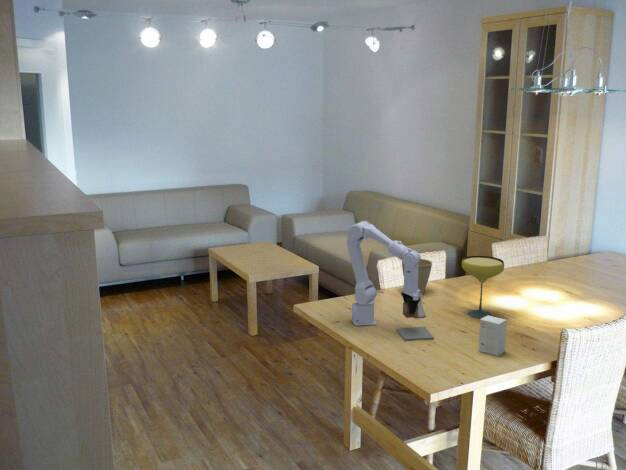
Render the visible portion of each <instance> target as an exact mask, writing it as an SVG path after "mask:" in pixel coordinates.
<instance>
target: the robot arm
mask: <svg viewBox="0 0 626 470" xmlns="http://www.w3.org/2000/svg"><path fill="white" fill-rule="evenodd" d="M364 239H373V240H375V241H376V242H378V243H380V244H381V245H383V246H384V247H386V248H387V250H388V253H390V254H392V256H394V257H396V258H397V259H399V260H400V261H401V264H402V263H403V264H404V276H403V286H402V287H403V288H402V292H401V293H400V295H401V297H402V299H403V302H408V307H409V313H410V314H415V312H416V308H417V305H418V303H419V301H420V298H418V292H420V290H419V289H418V264H417V263H418V262H419V261H420V259H422V258H421V254H420V252H418V251H417V250H416V249H412V248H410V247H407V246H406V245H404V244H403V242H402V241H401V240H392V239H390V238H389V237H388V236H387V235H385V234H384V233H383V232H381V230H380V229H378V228H377V227H376V226H375V225H374V224H372V223H370V222H369V221H368V220H362V221H359V222H357V223H353V224H352V225H350V227H349V228H348V229H347V239H346V247H347V250H348V255H349V258H350V262H351V266H352V269H353V274H354V277H355V282H356V283H355V287H354V292H355V293H354V300H355V301H356V302H354V303H352V304H351V319H350V320H351V321H352V323H353V326H356V327H357V326H358V327H359V326H373V325H374V326H376V325H377V322H376V320H375V298H376V297H377V296H378V293H377V288H376V287H375V286H374V284H373V281H372V280H370V279H369V274H368V271H367V268H366V263H365V260H364V259H365V258H364V255H363V250H362V247H361V243H362V242H363V240H364Z"/></svg>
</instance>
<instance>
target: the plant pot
mask: <svg viewBox="0 0 626 470" xmlns="http://www.w3.org/2000/svg"><path fill="white" fill-rule="evenodd" d="M417 264H418V289H419V290H420V292H418V293H420V294H422V295H423V294H424V292H425V290H426V287H427V286H428V282H429V279H430V275H431V271H432V267H433V262H432V261H431V260H429V259H426V258H425V259H424V258H421V259H420V261H419V262H418V263H417ZM401 268H402V275H403V277H404V264H403V263H402V262H401Z"/></svg>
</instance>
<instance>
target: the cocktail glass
mask: <svg viewBox="0 0 626 470" xmlns="http://www.w3.org/2000/svg"><path fill="white" fill-rule="evenodd" d="M461 268H462V269H463V270H464V271H465V272H466V274H469V276H472V277H473V278H476V279H477V281H478V282H479V283H480V296H479V307H478V309H472V310H469V311H468V312H467V315H468V316H469V317H472V318H475V319H479V320H480V319H482V318H484V317H486V316H488V315H489V316H493V313H492V312H490V311H487V310H484V309H483V307H482V305H483V304H482V302H483V300H482V299H483V283H485V282H486V281H487V280H488V279H490V278H493V277H497V276H498V275H501V274H502V272H504V271H505V270H504V269H505V261H504V260H503V259H500V258H497V257H494V256H488V255H470V256H466V257H463V258H462V260H461Z"/></svg>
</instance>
